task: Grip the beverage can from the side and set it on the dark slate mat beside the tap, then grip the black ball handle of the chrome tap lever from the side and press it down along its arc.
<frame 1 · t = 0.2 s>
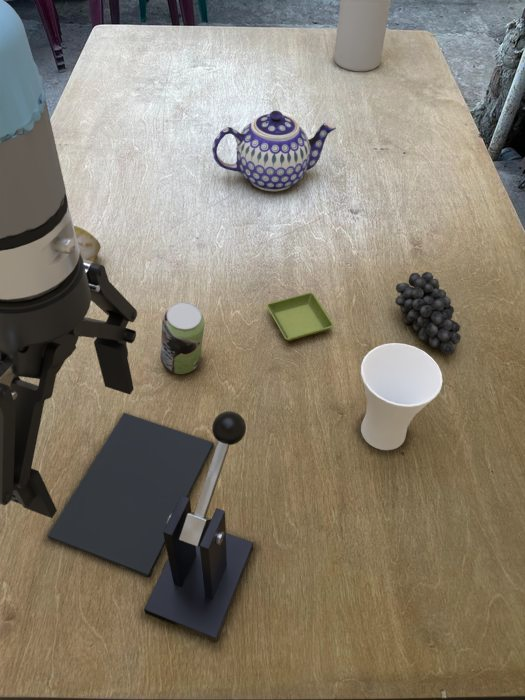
hand: (83, 444, 56), 27 cm above the table, tool pointing down, fingers open, 13 cm apart
tap lever: (213, 476, 66), point 17 cm above the table, hinge at 30.0°
cup: (382, 432, 91), on the table
cylinder vase: (356, 62, 168), on the table
beverage can: (184, 365, 98), on the table
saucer: (298, 324, 104), on the table
teapot: (272, 178, 131), on the table
fruit: (423, 331, 104), on the table
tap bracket: (201, 579, 76), on the table
slate mat: (135, 489, 83), on the table
mug: (76, 269, 111), on the table
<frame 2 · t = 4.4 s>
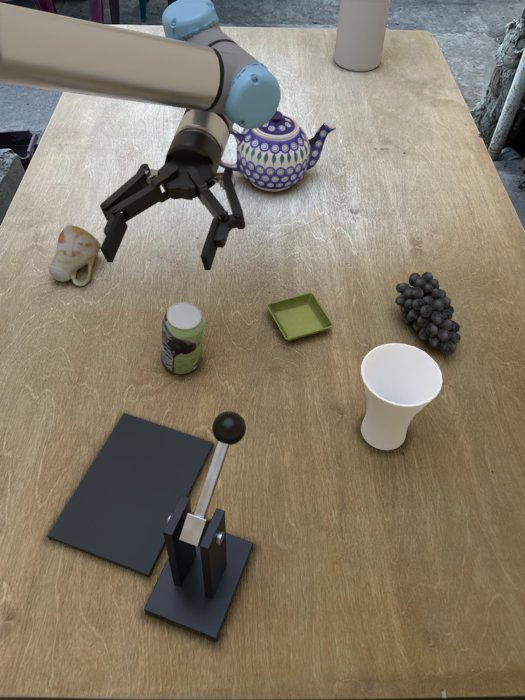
hand: (154, 259, 80), 22 cm above the table, tool horizontal, fingers open, 13 cm apart
nothing on the table moved.
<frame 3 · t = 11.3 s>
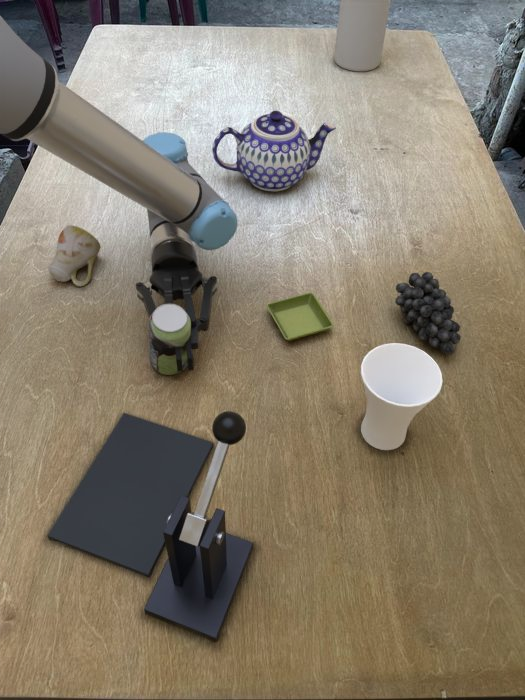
hand: (185, 364, 89), 7 cm above the table, tool horizontal, fingers closed on beverage can
beverage can: (172, 366, 97), on the table, touching gripper
everything else where it was.
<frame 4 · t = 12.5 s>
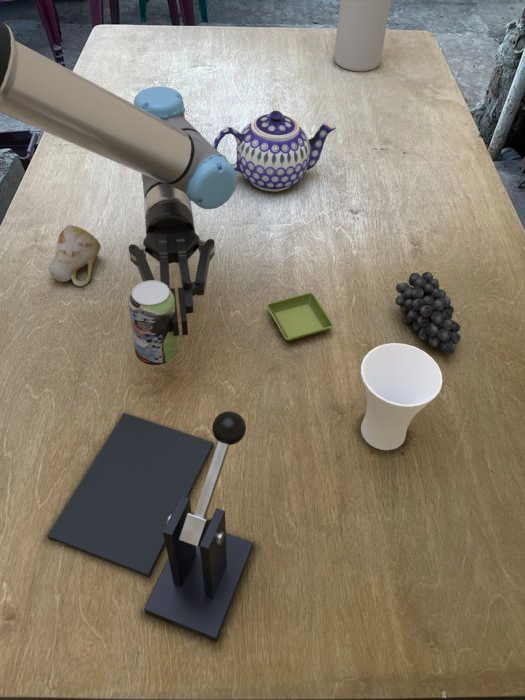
hand: (180, 328, 83), 14 cm above the table, tool horizontal, fingers closed on beverage can
beverage can: (163, 355, 90), point 7 cm above the table, touching gripper
everything else where it was.
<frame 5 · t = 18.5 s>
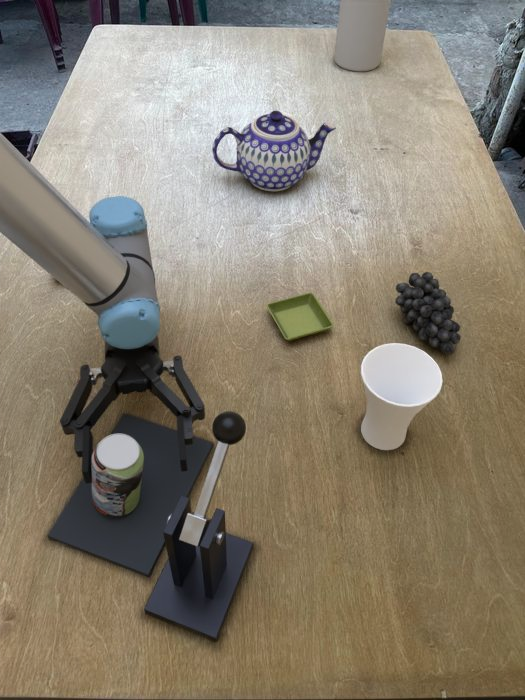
hand: (135, 471, 76), 8 cm above the table, tool horizontal, fingers open, 11 cm apart
beverage can: (122, 500, 81), point 1 cm above the table, touching slate mat
everything else where it was.
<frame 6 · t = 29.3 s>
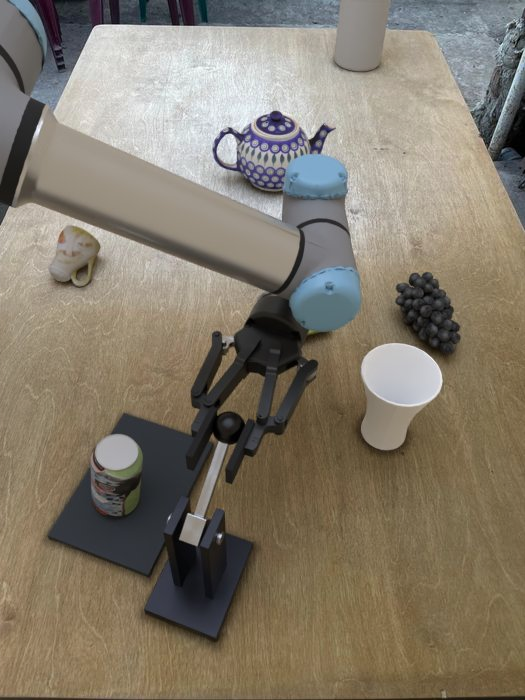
hand: (209, 469, 63), 20 cm above the table, tool horizontal, fingers closed on tap lever, 4 cm apart
tap lever: (213, 476, 66), point 17 cm above the table, hinge at 30.0°, touching gripper
everything else where it was.
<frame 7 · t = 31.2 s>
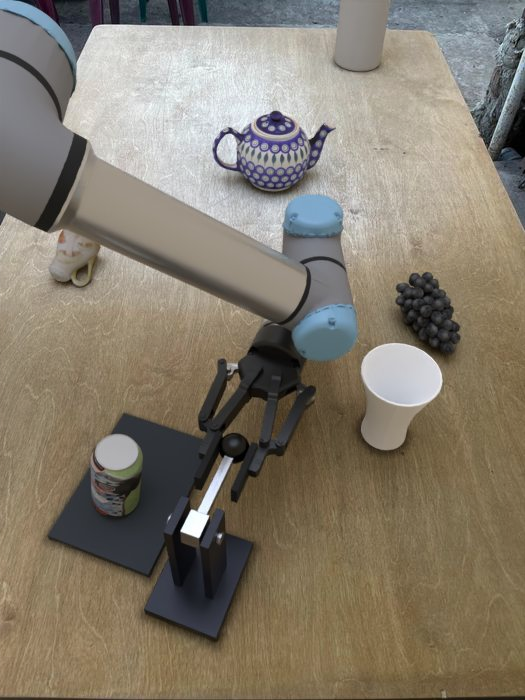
hand: (215, 489, 69), 13 cm above the table, tool horizontal, fingers closed on tap lever, 4 cm apart
tap lever: (216, 484, 69), point 14 cm above the table, hinge at -3.7°, touching gripper
everything else where it was.
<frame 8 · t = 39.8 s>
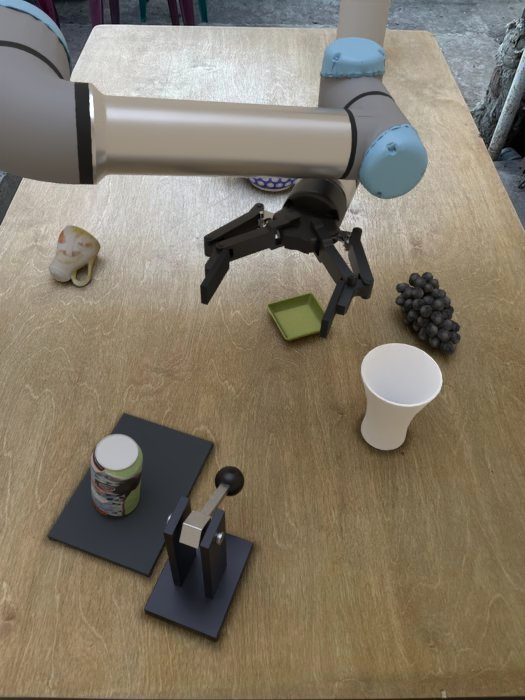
hand: (262, 312, 66), 28 cm above the table, tool horizontal, fingers open, 13 cm apart
tap lever: (214, 502, 70), point 11 cm above the table, hinge at -31.5°
everything else where it was.
at the end: beverage can inside the target area on the slate mat (2.4 cm from its centre), point 0.6 cm above the slate mat's base; beverage can tilted 0°; tap lever at -32° (first picture: +30°) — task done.
